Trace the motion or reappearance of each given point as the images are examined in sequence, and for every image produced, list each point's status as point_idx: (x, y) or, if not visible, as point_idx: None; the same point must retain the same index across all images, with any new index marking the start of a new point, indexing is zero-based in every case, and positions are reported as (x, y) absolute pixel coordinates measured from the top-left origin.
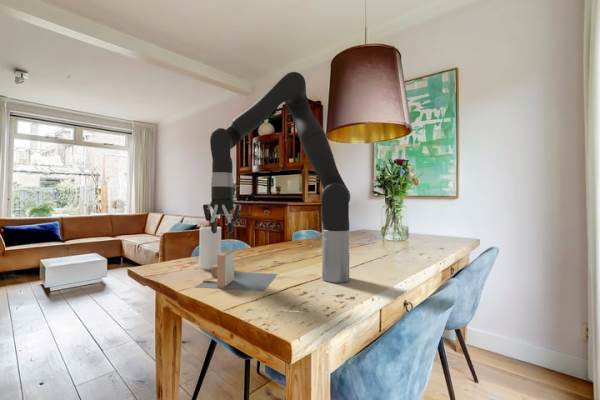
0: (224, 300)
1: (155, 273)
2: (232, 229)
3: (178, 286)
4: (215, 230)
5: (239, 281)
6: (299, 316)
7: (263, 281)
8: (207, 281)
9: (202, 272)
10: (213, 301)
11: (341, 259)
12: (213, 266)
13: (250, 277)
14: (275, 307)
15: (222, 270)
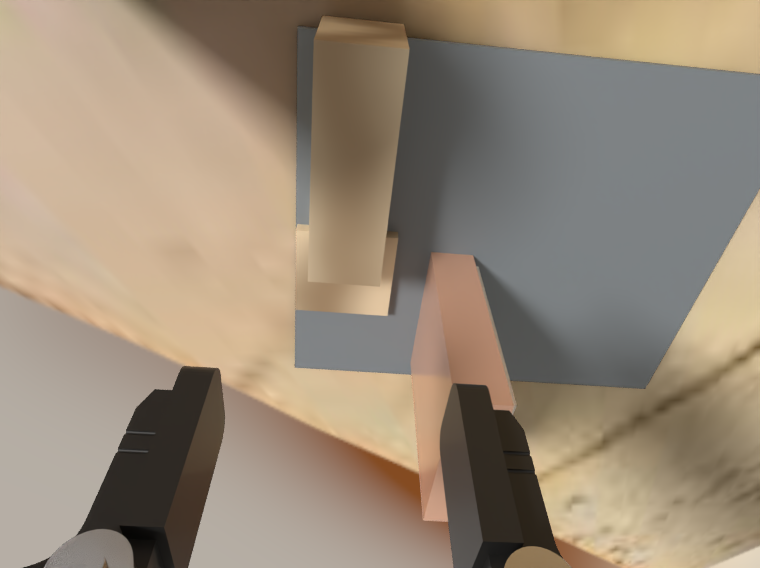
0: None
1: None
2: (514, 451)
3: (194, 346)
4: (211, 428)
5: (513, 274)
6: (722, 520)
7: (665, 265)
8: (326, 310)
9: (138, 47)
10: None
11: None
12: (315, 267)
13: (583, 190)
14: (664, 485)
15: None
